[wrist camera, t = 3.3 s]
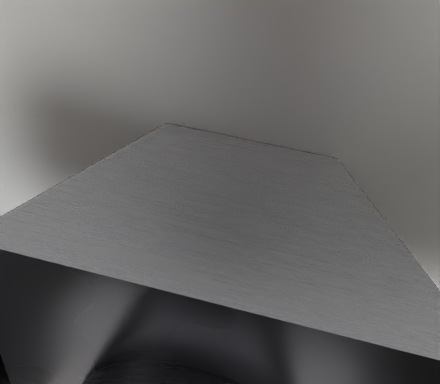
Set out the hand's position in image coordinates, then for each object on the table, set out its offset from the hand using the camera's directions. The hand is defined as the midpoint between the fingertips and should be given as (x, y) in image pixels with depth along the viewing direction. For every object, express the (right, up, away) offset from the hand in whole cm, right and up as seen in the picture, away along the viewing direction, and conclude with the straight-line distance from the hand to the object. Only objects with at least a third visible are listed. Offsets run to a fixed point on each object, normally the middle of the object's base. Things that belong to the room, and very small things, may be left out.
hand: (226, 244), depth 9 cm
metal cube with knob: (0, +1, +2) cm, 2 cm away
